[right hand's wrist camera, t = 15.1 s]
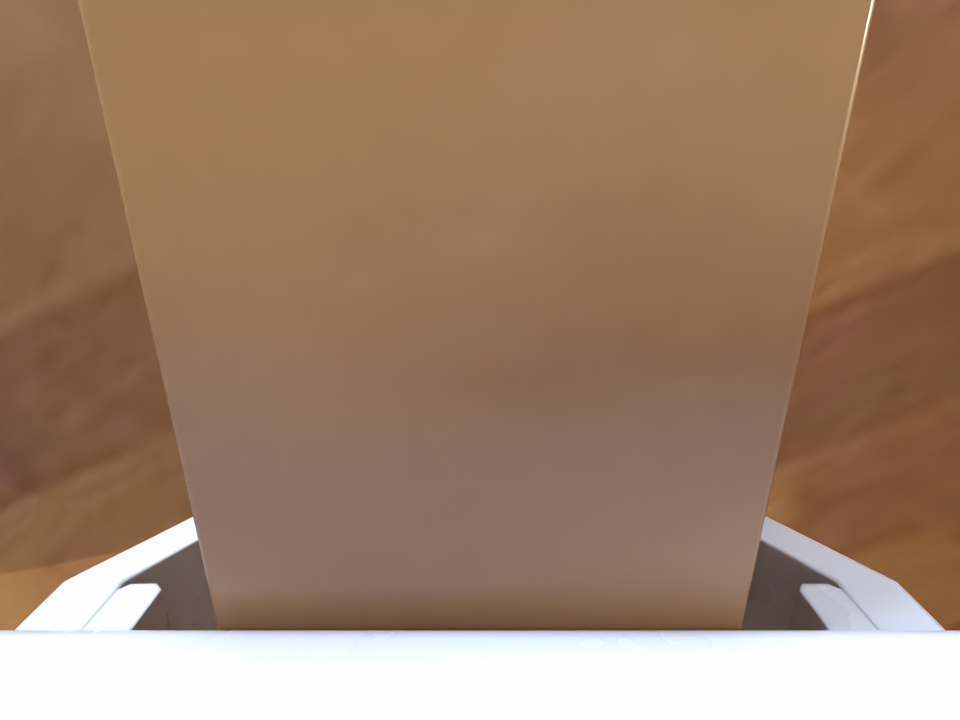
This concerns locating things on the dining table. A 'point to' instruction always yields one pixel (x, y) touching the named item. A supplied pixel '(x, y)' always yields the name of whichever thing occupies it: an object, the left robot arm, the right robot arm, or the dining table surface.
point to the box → (478, 293)
